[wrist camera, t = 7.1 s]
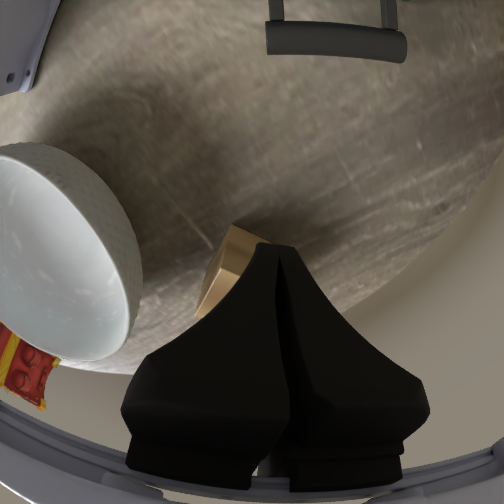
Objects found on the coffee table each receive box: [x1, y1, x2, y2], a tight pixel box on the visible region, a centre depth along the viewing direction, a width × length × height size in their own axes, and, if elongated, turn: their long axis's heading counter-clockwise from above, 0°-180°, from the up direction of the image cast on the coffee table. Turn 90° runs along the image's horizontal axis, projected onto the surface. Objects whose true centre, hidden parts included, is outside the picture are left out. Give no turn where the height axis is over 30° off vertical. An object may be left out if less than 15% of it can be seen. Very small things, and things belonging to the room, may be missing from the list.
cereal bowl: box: [0, 142, 143, 362], centre depth 19 cm, size 17×17×7 cm
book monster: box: [0, 321, 61, 411], centre depth 27 cm, size 11×9×12 cm
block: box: [195, 224, 273, 319], centre depth 20 cm, size 4×4×5 cm
